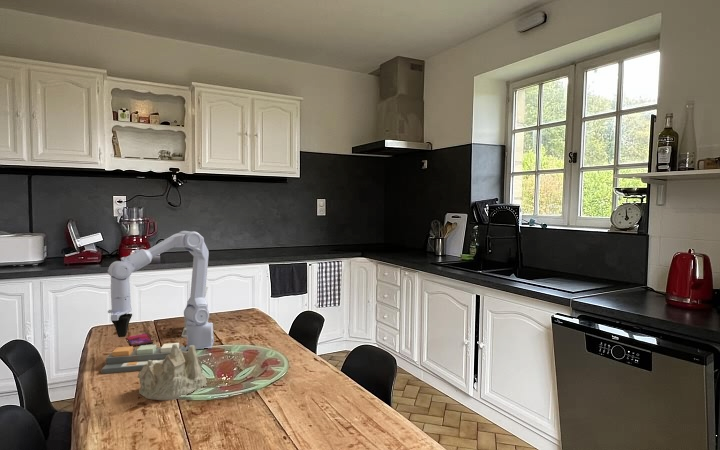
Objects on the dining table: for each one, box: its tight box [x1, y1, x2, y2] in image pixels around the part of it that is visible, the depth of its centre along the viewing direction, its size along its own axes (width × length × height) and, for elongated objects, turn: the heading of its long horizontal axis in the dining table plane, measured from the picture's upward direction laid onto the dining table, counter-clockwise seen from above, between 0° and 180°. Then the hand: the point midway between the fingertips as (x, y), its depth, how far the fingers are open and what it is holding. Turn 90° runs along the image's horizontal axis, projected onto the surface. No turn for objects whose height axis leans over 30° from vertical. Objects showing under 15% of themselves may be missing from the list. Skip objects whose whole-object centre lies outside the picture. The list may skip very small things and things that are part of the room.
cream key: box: [160, 342, 180, 353], centre depth 152 cm, size 5×5×2 cm
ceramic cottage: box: [137, 344, 208, 401], centre depth 128 cm, size 16×16×15 cm
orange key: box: [111, 345, 134, 357], centre depth 149 cm, size 5×5×2 cm
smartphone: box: [126, 333, 154, 348], centre depth 175 cm, size 8×1×15 cm
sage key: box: [136, 343, 157, 355], centre depth 150 cm, size 5×5×2 cm
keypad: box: [101, 344, 188, 375], centre depth 150 cm, size 23×16×4 cm
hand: (122, 336), depth 148 cm, fingers closed
